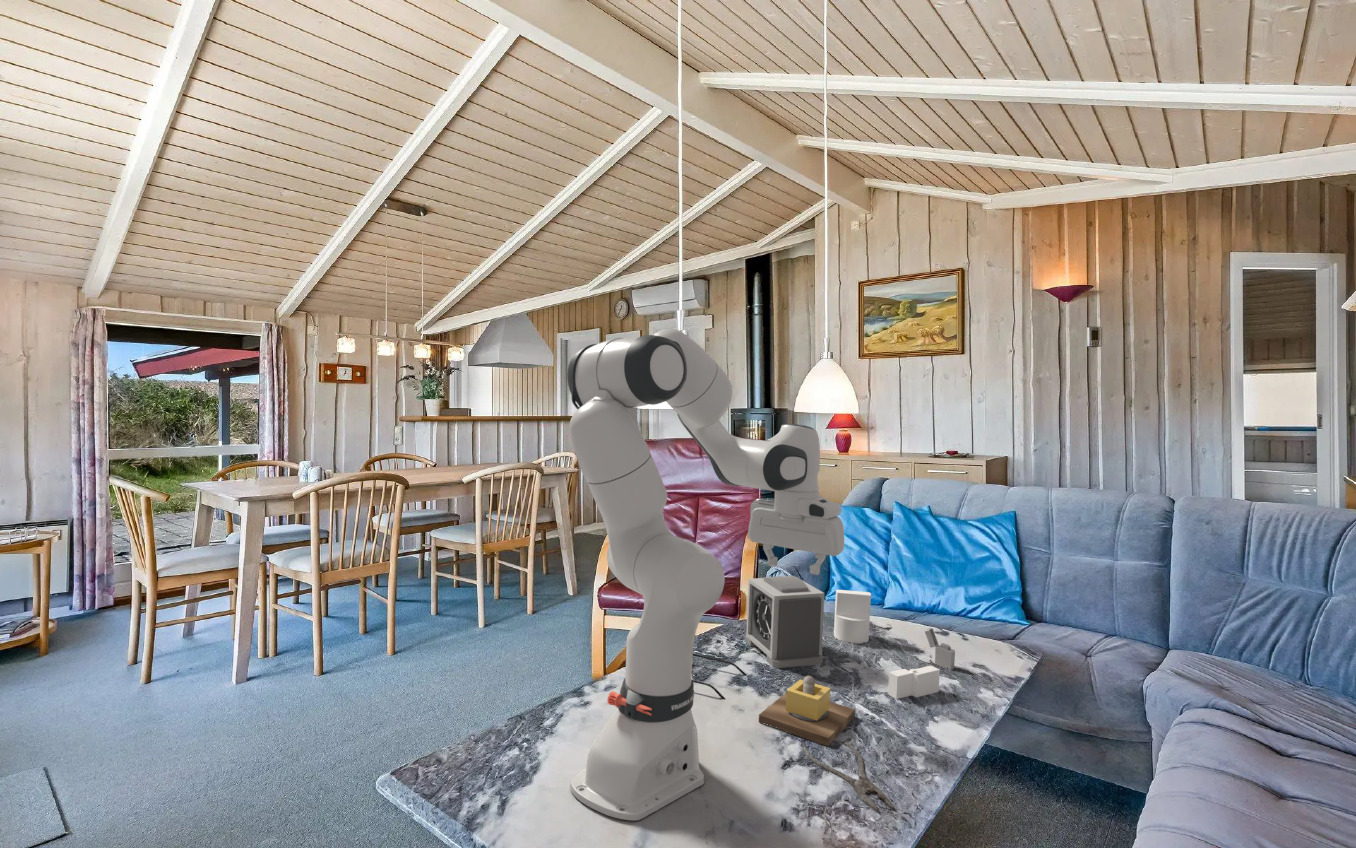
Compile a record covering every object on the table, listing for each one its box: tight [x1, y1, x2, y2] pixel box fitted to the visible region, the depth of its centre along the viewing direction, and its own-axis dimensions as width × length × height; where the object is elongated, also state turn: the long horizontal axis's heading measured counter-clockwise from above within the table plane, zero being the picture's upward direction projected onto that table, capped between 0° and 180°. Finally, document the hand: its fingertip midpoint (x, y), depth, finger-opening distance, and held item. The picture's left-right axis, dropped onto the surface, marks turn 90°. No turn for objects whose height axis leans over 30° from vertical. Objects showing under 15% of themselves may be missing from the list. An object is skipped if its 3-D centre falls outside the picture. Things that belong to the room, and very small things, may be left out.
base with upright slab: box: [833, 589, 872, 644], centre depth 174 cm, size 9×9×12 cm
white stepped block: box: [887, 665, 941, 700], centre depth 142 cm, size 15×11×6 cm
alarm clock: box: [744, 575, 825, 669], centre depth 162 cm, size 18×13×18 cm
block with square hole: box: [786, 678, 831, 721], centre depth 128 cm, size 6×6×4 cm
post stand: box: [758, 675, 856, 747], centre depth 128 cm, size 14×14×9 cm
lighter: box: [924, 627, 956, 670], centre depth 158 cm, size 7×2×8 cm, turn 42°
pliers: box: [802, 741, 894, 813], centre depth 110 cm, size 10×1×20 cm
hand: (793, 569), depth 135 cm, fingers open, 8 cm apart
